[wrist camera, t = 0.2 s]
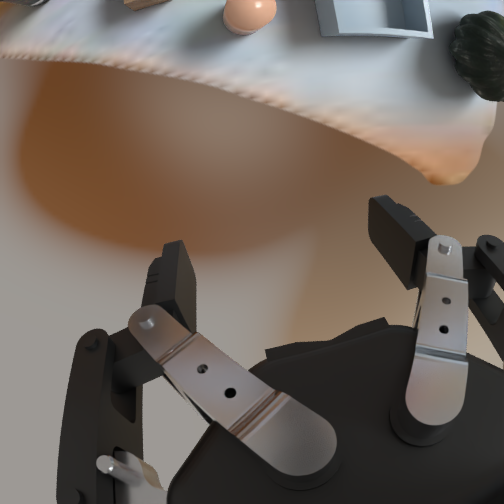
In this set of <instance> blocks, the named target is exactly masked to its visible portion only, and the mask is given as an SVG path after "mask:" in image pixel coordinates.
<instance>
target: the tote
mask: <svg viewBox="0 0 504 504" xmlns="http://www.w3.org/2000/svg"><path fill="white" fill-rule="evenodd" d="M315 5H316V10H317V15H318V20H319V25H320V31H321V36H322V37H324V36H385V37H401V38H430V39H434V38H433V30H432V23H431V17H430V11H429V5H428V0H315Z"/></svg>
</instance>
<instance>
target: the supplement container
mask: <svg viewBox="0 0 504 504" xmlns="http://www.w3.org/2000/svg"><path fill="white" fill-rule="evenodd" d="M46 1H47V0H0V2H6V3H12V4H18V5H24V6H29V7H34V6H38V5H41V4H43V3H45V2H46Z"/></svg>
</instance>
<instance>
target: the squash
mask: <svg viewBox="0 0 504 504" xmlns="http://www.w3.org/2000/svg"><path fill="white" fill-rule="evenodd" d="M455 36H456V40H454V41H453V42H452V43H451V44H450V47H449V50H450V53H451V54H452V55H453V57H454V58H455V59H456V62H455V68H456V70H457V72H458V74H459V75H460V76H461V77H462V78H463V79H464V80H465V81H467V82H469V84H470V85H471V87H472V88H473V90H474V91H475V92H476V94H478V95H479V96H480V97H481V98H483V99H485V100H489V101H497V102H499V101H503V102H504V17H503V16H502V15H500V14H498V13H496V12H492V11H483V12H480V13H478V14H467V15H465V16H464V17H463V18H462V19H461V21H460V26H457V27H456V29H455Z"/></svg>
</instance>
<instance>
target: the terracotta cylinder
mask: <svg viewBox="0 0 504 504" xmlns="http://www.w3.org/2000/svg"><path fill="white" fill-rule="evenodd" d="M275 13H276V2H275V0H227V2H226V5H225V8H224V12H223V22H224V25H225V26H226V27H227V29H228V30H230V31H231V32H233V33H235V34H239V35H249V34H252V33H254V32H256V31H258V30H259V29H261V28H262V27H263V26H265V25H266V24H268V23H269V22H270V21H271V20H272V19H273V17H274V16H275Z"/></svg>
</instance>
